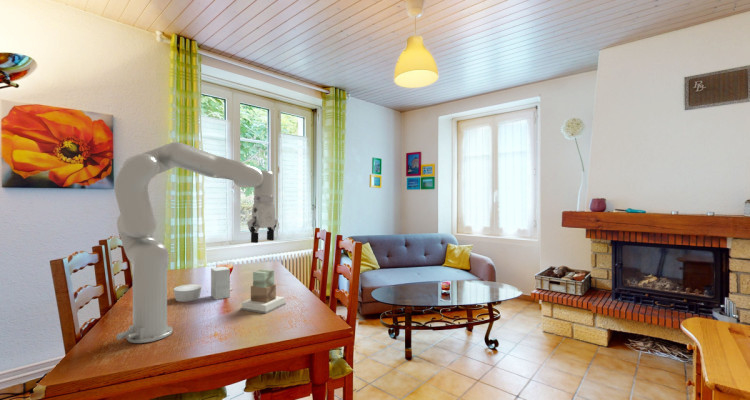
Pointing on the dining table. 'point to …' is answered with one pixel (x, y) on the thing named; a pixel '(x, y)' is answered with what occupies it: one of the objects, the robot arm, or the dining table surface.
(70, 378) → the dining table surface
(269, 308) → the plinth
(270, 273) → the sage cube
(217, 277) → the small box
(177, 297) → the ramekin
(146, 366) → the dining table surface
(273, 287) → the walnut brick
